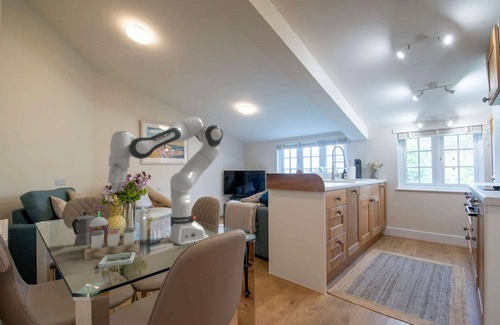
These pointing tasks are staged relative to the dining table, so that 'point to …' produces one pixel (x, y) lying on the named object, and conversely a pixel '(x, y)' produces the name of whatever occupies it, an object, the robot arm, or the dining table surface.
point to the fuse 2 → (129, 236)
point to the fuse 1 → (97, 239)
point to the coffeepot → (82, 229)
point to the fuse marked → (113, 237)
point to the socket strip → (111, 250)
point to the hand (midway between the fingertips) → (116, 191)
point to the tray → (116, 263)
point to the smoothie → (99, 226)
